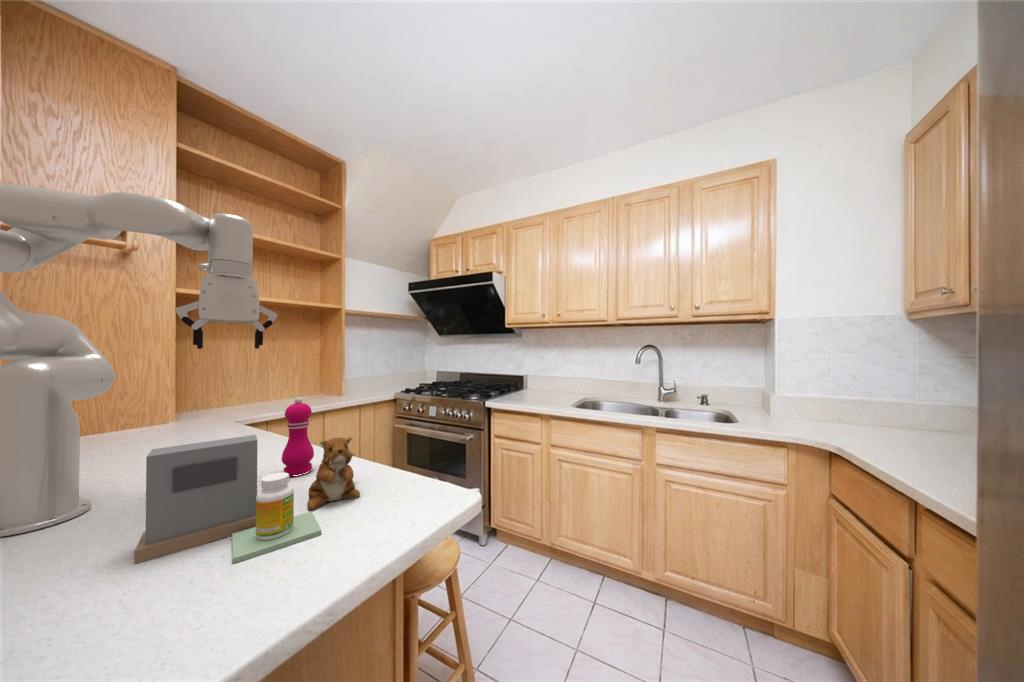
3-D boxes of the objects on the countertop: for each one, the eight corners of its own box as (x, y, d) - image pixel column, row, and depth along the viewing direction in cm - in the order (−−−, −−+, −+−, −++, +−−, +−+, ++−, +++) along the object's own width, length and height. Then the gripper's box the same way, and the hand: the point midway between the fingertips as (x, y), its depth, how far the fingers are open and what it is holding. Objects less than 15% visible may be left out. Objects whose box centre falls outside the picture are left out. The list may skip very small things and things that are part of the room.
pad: (232, 563, 51) (232, 558, 51) (232, 538, 58) (232, 533, 58) (321, 534, 59) (321, 530, 59) (311, 515, 65) (311, 511, 65)
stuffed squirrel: (307, 513, 66) (307, 447, 66) (306, 488, 78) (307, 432, 78) (361, 501, 71) (361, 439, 72) (353, 479, 83) (353, 426, 84)
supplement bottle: (287, 537, 56) (287, 480, 56) (249, 543, 55) (250, 484, 55) (297, 521, 61) (297, 469, 62) (263, 526, 60) (263, 472, 60)
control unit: (134, 564, 51) (135, 459, 51) (143, 543, 56) (144, 449, 56) (264, 526, 61) (264, 440, 61) (261, 512, 67) (261, 432, 67)
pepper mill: (291, 468, 91) (291, 395, 91) (318, 467, 92) (319, 394, 92) (275, 478, 84) (275, 399, 84) (305, 477, 84) (305, 399, 85)
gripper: (173, 262, 65) (171, 348, 65) (279, 274, 76) (278, 348, 76) (178, 269, 71) (176, 348, 71) (276, 279, 82) (275, 348, 82)
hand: (229, 348), depth 73 cm, fingers open, 9 cm apart
